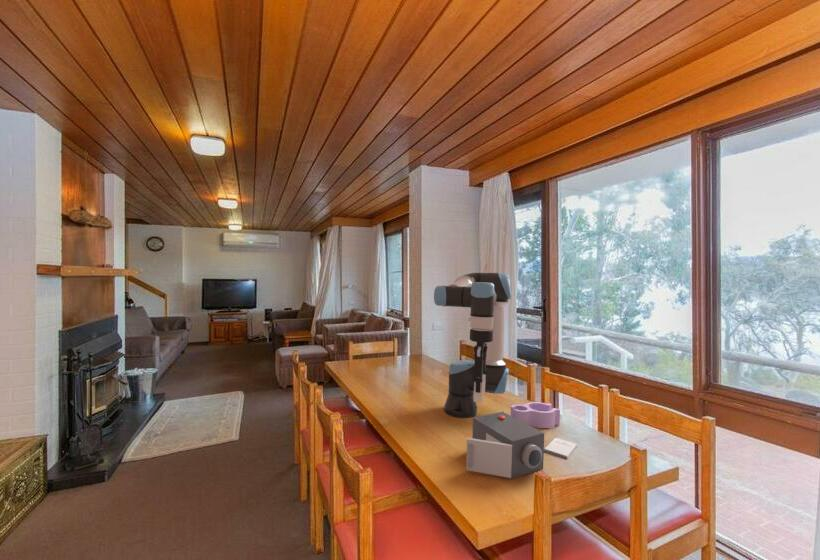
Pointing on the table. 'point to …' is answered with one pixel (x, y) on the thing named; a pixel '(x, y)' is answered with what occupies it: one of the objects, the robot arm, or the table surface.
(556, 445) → the external hard drive
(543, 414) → the clip
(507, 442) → the camera housing
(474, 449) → the side door
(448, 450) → the table surface
